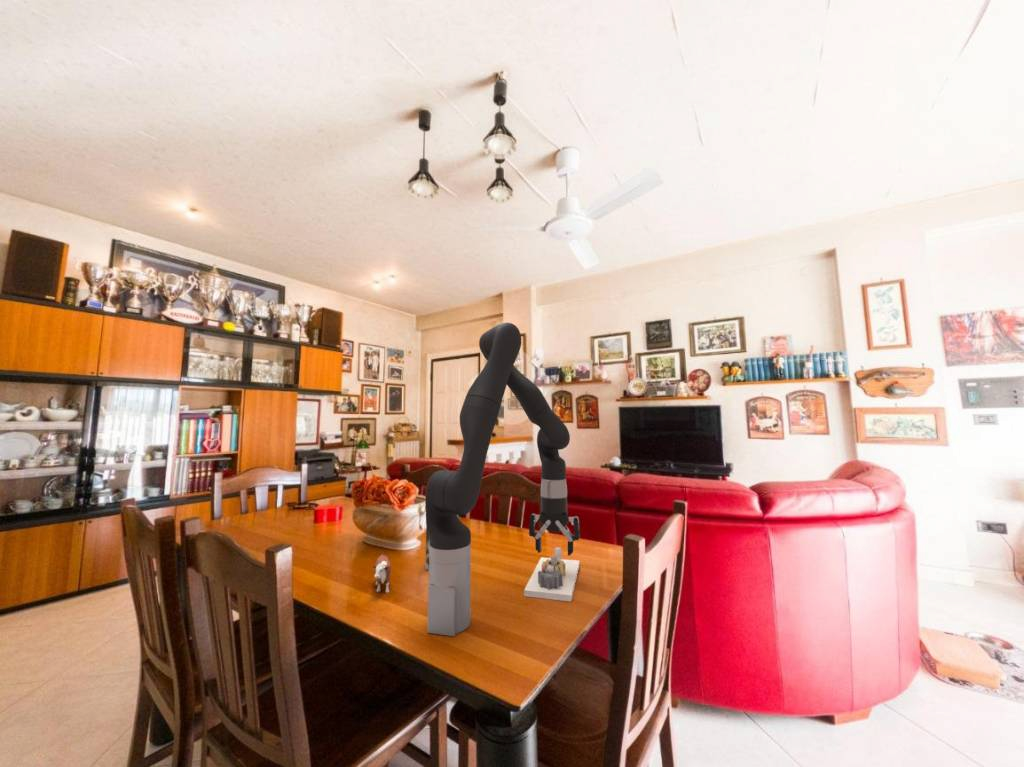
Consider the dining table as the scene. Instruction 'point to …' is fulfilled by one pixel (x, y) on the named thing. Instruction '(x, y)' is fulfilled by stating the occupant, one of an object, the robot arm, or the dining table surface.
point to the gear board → (553, 592)
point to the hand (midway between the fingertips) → (554, 553)
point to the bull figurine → (382, 572)
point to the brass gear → (557, 566)
